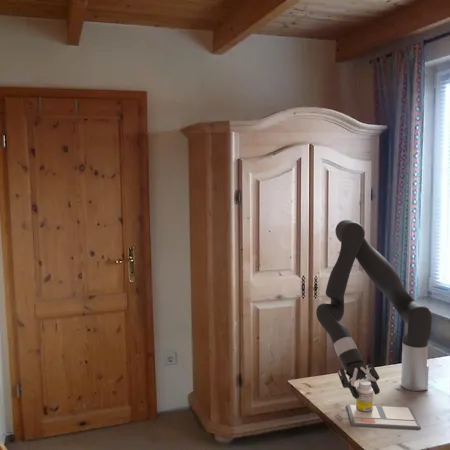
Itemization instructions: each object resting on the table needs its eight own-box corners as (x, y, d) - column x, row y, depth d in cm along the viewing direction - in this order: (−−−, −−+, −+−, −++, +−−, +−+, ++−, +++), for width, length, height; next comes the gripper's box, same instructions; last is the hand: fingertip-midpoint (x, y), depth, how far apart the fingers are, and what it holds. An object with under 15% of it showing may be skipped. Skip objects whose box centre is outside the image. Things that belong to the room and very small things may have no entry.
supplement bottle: (360, 405, 179) (361, 377, 178) (375, 410, 175) (376, 382, 174) (353, 411, 174) (354, 383, 173) (368, 416, 171) (369, 387, 170)
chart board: (410, 409, 178) (410, 406, 178) (420, 429, 164) (420, 425, 164) (346, 406, 181) (346, 403, 181) (351, 425, 167) (351, 422, 167)
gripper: (336, 350, 177) (355, 395, 167) (368, 345, 182) (389, 387, 173) (326, 360, 182) (345, 403, 173) (359, 354, 187) (378, 396, 178)
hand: (367, 395), depth 173 cm, fingers open, 8 cm apart
